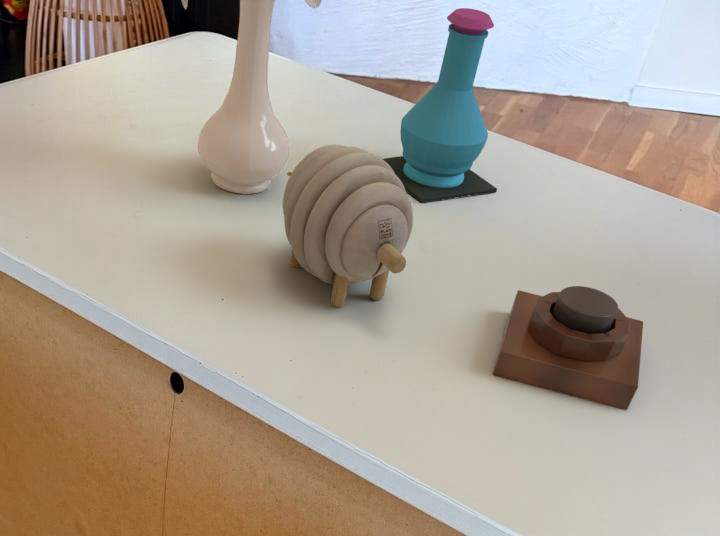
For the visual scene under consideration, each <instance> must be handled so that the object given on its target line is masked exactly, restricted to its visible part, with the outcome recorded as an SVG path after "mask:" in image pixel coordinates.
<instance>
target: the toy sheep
mask: <svg viewBox="0 0 720 536" xmlns="http://www.w3.org/2000/svg"><path fill="white" fill-rule="evenodd" d="M383 159H384V158H382V157H380V156H378V155H376V154H374V153H370V152H368V151H366V150H364V149H362V148H359V147H355V146H346V145H342V144H328V145H324V146H321V147H318V148H317V149H314V150H313V151H311V152H309V153H308V154H307V155H306V156H305V157H303V158H302V159H301V160H300V161H299V162H298V164H297V165H296V166H295V168H294V169H293V170H292V171H287V174H286V176H289V178H288V179H287V182H286V185H285V188H284V192H283V197H282V211H283V216H284V221H283V222H284V231H285V235H286V238H287V241H288V243H289V245H290V247H291V254H290V255H291V256H290V264H291V266H293V267H294V268H301V267H302V269H303V270H304V271H306V272H307V273H309V274H310V275H311V276H312V275H313V276H314V277H317V278H318V279H319V280H321V281H322V282H324V283H326V284H329V285H332V291H331V297H330V305H331V306H333V308H334V307H335V308H342V307H343V306H344V305H345V304H346V299H347V295H348V289H349V286H350V285H354V284H356V283H359V282H363V281H369V280H371V283H370V284H371V285H370V290H369V297H370V299H372V300H375V301H380V300H382V299H383V298H384V295H385V291H386V288H387V281H388V276H389V272H391V273H392V274H400V273H402V272H403V271H404V270H405V268H406V265H407V260H406V258H405V256H404V255H403V252H404V250H405V248H406V247H407V244H408V242H409V240H410V237H411V234H412V230H413V225H414V212H413V207H412V203H411V201H410V199H409V197H408V193H407V192H406V191H405V188H404V186H403V184H402V182H401V180H400V179H399V178H398V177H397V176H396V175H395V173H394V171H393V170H392V168H391V167H390V166H389V164H388V163H387V162H385V161H384V160H383Z"/></svg>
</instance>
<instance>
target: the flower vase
mask: <svg viewBox="0 0 720 536" xmlns="http://www.w3.org/2000/svg"><path fill="white" fill-rule="evenodd" d="M188 1H189V0H181V4H182V6H183V8H184V10H187V8H188V3H189V2H188ZM275 2H276V0H239V22H238V30H237V31H238V32H237V40H236V48H235V49H236V50H235V58H234V66H233V71H232V77H231V80H230V81H231V82H230V85H229V88H228V91H227V93H226V96H225V97H224V100H223V102H222V104H221V106H220V107H218V109H217V110H216V111H215V112H214V113H213V114H212V115H211V116H210V117H209V118H208V119H207V121H206V122H205V123H204V124H203V126H202V127H201V129H200V132H199V136H198V141H197V152H198V154H199V157H200V158H201V161H202V162H203V164H204V165H205V167H206V169H208V170H209V171H210V178H211V181H212V182H213V184H214V185H215V186H217V187H218V188H220V189H221V190H224V191H227V192H230V193H234V194H241V195H253V194H257V193H263V192H264V191H265V190H267V189H268V188H269V187H270V185H271V183H272V179H273V178H275V177H276V176H277V175H279V174H280V172H282V170H284V168H285V166H286V165H287V163H288V161H289V159H290V153H291V151H290V141H289V137H288V135H287V132H286V130H285V128H284V126H283V125H282V124H281V122H280V120H279V119H278V118H277V116H276V115H275V112H274V109H273V107H272V102H271V98H270V92H269V83H268V75H269V74H268V73H269V71H268V70H269V55H270V53H269V52H270V42H271V41H270V40H271V27H272V18H273V13H274V12H273V11H274V7H275ZM304 2H305V3H306V4H307V6H309V7H310V8H312V9H317V8H318V7H320V5H321V4H322V0H304Z"/></svg>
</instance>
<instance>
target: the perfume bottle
mask: <svg viewBox="0 0 720 536" xmlns="http://www.w3.org/2000/svg"><path fill="white" fill-rule="evenodd" d="M446 20H447V21H448V22H449V23H450V24H449V25H448V28H447V29H448V30H447V31H448V35H447V36H448V37H447V40H446V45H445V49H444V54H443V57H442V62H441V67H440V70H439V71H440V72H439V75H438V80H437V82H436V83H435V84H434V85H433V86H432V87H431V88H430V89H429V90H428V91H427V92H426V93H425V94H424V95H423V97H422V98H420V99H419V100H418V101H417V102H416V103H415V104H414V105H413V106H412V107H411V108H410V110H408V111H407V112H406V113H405V115H404V116H402V118H401V123H400V131H399V132H400V133H399V135H400V143H401V146H402V156H403V157H404V159H405V160H406V161H407V162H406V164H405V165H404V169H403V171H404V173H405V175H406V176H407V177H409V178H410V179H412V180H413V181H416V182H418V183H421V184H424V185H427V186H432V187H441V188H447V187H454V186H458V185H460V184H461V183H462V182H463V180H464V172H466V171H468V170H469V169H470V170H471V168H472V166H473V164H474V162H475V161H477V159H478V157H480V154H481V153H482V151H483V150H484V148H485V145H486V143H487V140H488V137H489V132H488V130H487V127H486V122H485V120H484V117H483V115H482V112H481V109H480V106H479V103H478V101H477V97H476V94H475V91H474V89H473V87H474V83H475V79H476V77H477V76H476V75H477V71H478V68H479V64H480V60H481V57H482V56H481V55H482V52H483V48H484V44H485V41H486V39H487V38H488V37H489V31H488V30H490V29H492V28H494V27H495V24H494V22H493V20H492V18H491V15H490V14H489V13H487V12H485V11H482V10H479V9H475V8H468V7H467V8H466V7H460V8H456V9H455V10H453V11H452V12H451V13H450V14H449V15H447V17H446Z"/></svg>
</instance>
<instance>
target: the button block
mask: <svg viewBox="0 0 720 536" xmlns="http://www.w3.org/2000/svg"><path fill="white" fill-rule="evenodd" d="M560 292H561V291H551V292H549V293H546V294H544V295H539V294H535V293H531V292H527V291H523V290H518V289H517V292H516V294H515V297H514V300H513V303H512V306H511V309H510V312H509V315H508V318H507V322H506V326H505V329H504V333H503V336H502V340H501V343H500V348H499V350H498V354H497V358H496V361H495V365H494V368H493V372H492V375H493V376H495V377H500V378H504V379H508V380H511V381H515V382H518V383H524V384H527V385H530V386H534V387H538V388H542V389H546V390H550V391H553V392H557V393H560V394H565V395H569V396H572V397H576V398H579V399H583V400H587V401H591V402H594V403H598V404H603V405H606V406H611V407H614V408H617V409H622V410H625V411H627V410H628V408H629V407H630V405H631V403H632V401H633V398H634V396H635V395H636V392H637V390H638V388H639V380H640V379H639V378H640V369H641V368H640V367H641V355H642V341H643V329H644V321H643V320H641V319H635V318H631V317H627V316H626V315H625V314H624V312H623V311H622V310H621V309H620V308H619V307H618V311H617V314H616V316H615V318H614V321H613V323H612V325H611V328H610V330H609V331H608V332H607V333H603V334H587V333H583V332H579V331H575V330H572V329H570V328H568V327H566V326H564V325H563V324H561V323H559V322H557V321H556V320H555V318H554V317H553V316H552V312H553V309H554V306H555V304H556V301H557V298H558V296H559V293H560Z"/></svg>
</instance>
